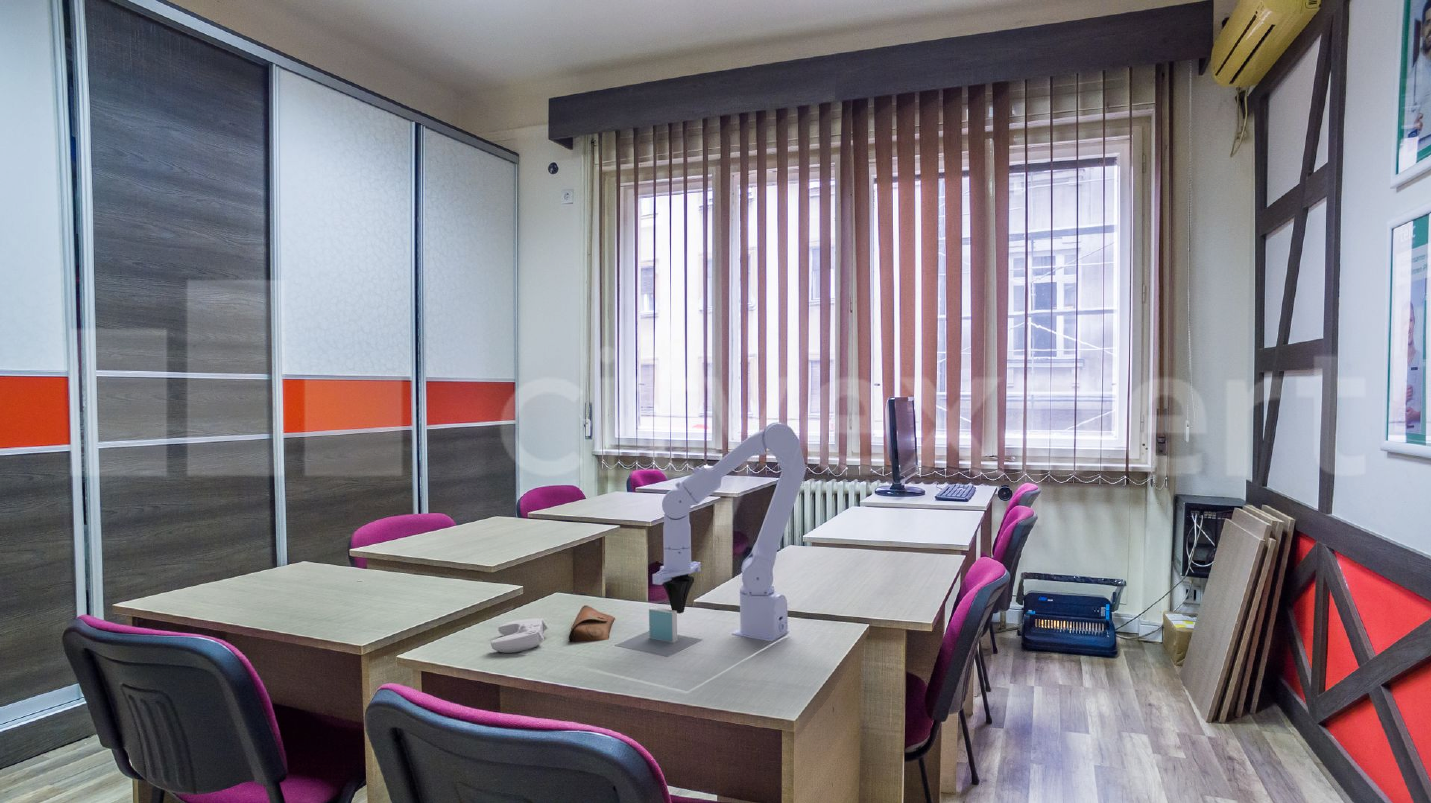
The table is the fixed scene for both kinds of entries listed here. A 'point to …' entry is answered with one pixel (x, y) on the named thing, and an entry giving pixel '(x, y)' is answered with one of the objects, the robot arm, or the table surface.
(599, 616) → the sunglasses case
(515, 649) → the game controller
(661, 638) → the tile
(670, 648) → the mat
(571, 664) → the table surface
